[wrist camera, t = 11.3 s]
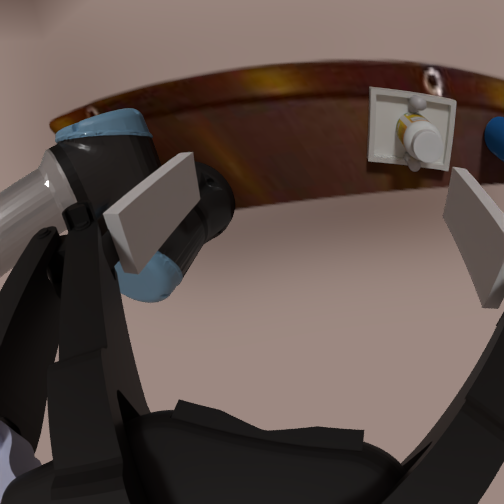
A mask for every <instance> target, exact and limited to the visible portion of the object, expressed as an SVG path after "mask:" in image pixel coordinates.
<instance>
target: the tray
mask: <svg viewBox="0 0 504 504" xmlns="http://www.w3.org/2000/svg"><path fill="white" fill-rule="evenodd" d="M407 112H416V113H419V114H421V115H422V116H424V117H425V118H426V119H427V120H429V121H430V122H431V123H432V124H434V125H435V126H436V127H437V129H438V130H439V132H440V134H441V137H442V142H443V153H442V155H441V157H440V158H439V159H438V160H437V161H435V162H433V163H425V162H423V161H421V160H417V159H415V158H413V157H412V156H411V155H410V154H409V153H408V152H407V151H406V149H405V147H404V146H403V144H402V143H401V141H400V140H399V138H398V136H397V133H396V124H397V121H398V119H399V118H400V116H402V115H403V114H405V113H407ZM455 113H456V101H455V100H452V99H449V98H444V97H439V96H433V95H427V94H422V93H415V92H409V91H402V90H394V89H386V88H376V87H369V123H368V147H367V159H368V161H371V162H381V163H391V164H400V165H408V166H409V168H410V170H411V171H414V172H416V171H418V170H419V169H420V168H421V167H424V168H431V169H438V170H444V171H448V169H449V163H450V156H451V149H452V141H453V133H454V124H455Z"/></svg>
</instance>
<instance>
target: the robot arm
mask: <svg viewBox="0 0 504 504" xmlns="http://www.w3.org/2000/svg"><path fill="white" fill-rule="evenodd" d="M152 138H153V136H152V134H151V133H149V130H148V128H147V125H146V123H145V121H144V118H143V116H142V114H141V113H140V112H139V111H138V110H136V109H132V108H126V109H120V110H115V111H111V112H107V113H104V114H100V115H97V116H94V117H91V118H88V119H85V120H82V121H80V122H79V123H75V124H73V125H70V126H67V127H65V128H63V129H61V130H60V131H58V132H57V133H56V139H55V141H56V143H57V145H55V146H53V147H51V148H49V149H48V150H46V151H45V153H44V157H43V159H42V162H41V164H40V166H39V167H38V169H36V170H35V171H33V172H31V173H30V174H28V175H26V176H25V177H24V178H22V179H20V180H19V181H17V182H15V183H14V184H12V185H11V186H9V187H8V188H7V189H5V190H4V191H2V192H1V193H0V277H1V276H3V275H4V274H5V273H6V272H8V271H9V270H10V269H12V268H13V267H14V268H13V269H12V271H11V273H10V275H9V276H8V278H7V280H6V282H5V283H4V285H3V287H2V289H1V291H0V504H478V502H479V501H480V499H481V498H482V496H483V495H484V493H485V492H486V490H487V489H488V487H489V485H490V484H491V482H492V481H493V479H494V477H495V476H496V474H497V472H498V471H499V469H500V467H501V465H502V464H503V462H504V312H503V314H502V316H501V318H500V319H499V321H498V323H497V325H496V326H497V327H496V329H495V331H494V333H493V335H492V337H491V339H490V341H489V343H488V344H487V346H486V348H485V350H484V352H483V353H482V355H481V357H480V359H479V360H478V362H477V364H476V366H475V367H474V369H473V371H472V372H471V374H470V376H469V377H468V379H467V380H466V382H465V383H464V385H463V387H462V388H461V390H460V391H459V392H458V394H457V395H456V397H455V398H454V400H453V401H452V403H451V404H450V405H449V407H448V408H447V410H446V411H445V412H444V414H443V415H442V416H441V418H440V419H439V420H438V422H437V423H436V424H435V426H434V427H433V428H432V429H431V431H430V432H429V433H428V434H427V436H426V437H425V438H424V439H423V440H422V442H421V443H420V444H419V445H418V446H417V447H416V449H415V450H414V451H413V452H412V453H411V454H410V455H409V456H408V457H407V458H406V459H405V460H404V461H403V462H402V463H401V464H400V463H399V462H398V461H397V460H396V459H395V458H394V457H393V456H391V455H390V454H389V453H387V452H385V451H384V450H382V449H380V448H378V447H376V446H374V445H371V444H369V443H366V442H363V437H364V430H352V429H339V428H327V427H308V428H298V429H286V430H273V431H267V430H262V429H259V428H257V427H255V426H253V425H250V424H248V423H246V422H244V421H242V420H240V419H238V418H236V417H233V416H231V415H229V414H227V413H225V412H223V411H221V410H218V409H214V408H209V407H206V406H201V405H198V404H194V403H190V402H186V401H183V400H178V403H177V405H176V407H175V409H174V410H166V411H157V412H152V413H151V412H150V410H149V408H148V406H147V403H146V400H145V397H144V393H143V390H142V386H141V383H140V379H139V375H138V371H137V368H136V364H135V360H134V356H133V352H132V347H131V343H130V339H129V334H128V329H127V324H126V320H125V315H124V309H123V305H122V299H121V293H122V294H124V295H126V296H127V297H129V298H132V299H134V300H137V301H142V302H148V303H149V302H159V301H162V300H164V299H166V298H167V297H168V296H169V295H170V294H171V293H172V292H173V290H174V289H175V288H176V286H178V285H179V284H180V282H181V281H182V279H183V277H184V275H185V274H186V272H187V270H188V269H189V267H190V265H191V264H192V262H193V261H194V259H195V257H196V256H197V254H198V252H199V251H200V249H201V248H202V246H203V244H205V243H206V242H208V241H209V240H211V239H213V238H215V237H217V236H218V235H220V234H221V233H222V232H223V231H224V230H225V229H226V227H227V226H228V224H229V223H230V221H231V219H232V217H233V214H234V210H235V201H234V196H233V192H232V190H231V188H230V186H229V184H228V182H227V181H226V180H225V178H224V177H223V176H222V175H221V174H220V173H219V172H217V171H216V170H215V169H213V168H212V167H210V166H208V165H206V164H203V163H199V162H194V157H193V152H188V153H179V154H178V155H176V156H175V157H174V158H172V159H171V160H169V161H168V162H167V163H165V164H164V165H163V166H162V165H161V162H160V160H159V157H158V154H157V151H156V148H155V146H154V143H153V140H152ZM443 218H444V219H445V222H446V224H447V226H448V228H449V230H450V232H451V234H452V236H453V238H454V240H455V242H456V244H457V246H458V248H459V251H460V253H461V255H462V257H463V260H464V262H465V264H466V267H467V269H468V271H469V274H470V275H471V279H472V281H473V284H474V286H475V289H476V291H477V294H478V296H479V299H480V302H481V305H482V308H496V309H498V308H499V306H500V304H501V302H502V300H503V298H504V213H503V212H502V211H501V209H500V208H499V207H498V206H497V204H496V203H495V202H494V201H493V200H492V198H491V197H490V196H489V195H488V194H487V192H486V191H485V190H484V189H483V188H482V187H481V185H480V184H479V183H478V182H477V181H476V180H475V179H474V177H473V176H472V175H471V174H470V173H469V172H468V171H467V170H466V169H463V168H457V167H453V168H452V174H451V179H450V185H449V190H448V195H447V200H446V204H445V209H444V213H443ZM66 229H67V230H68V234H67V235H62V236H60V235H59V234H60V233H62V232H63V231H65V230H66ZM48 277H49V278H48ZM49 279H50V280H49ZM58 345H59V361H58V362H55V363H54V361H55V357H56V353H57V349H58ZM46 400H47V401H48V417H49V430H50V440H51V447H52V456H53V460H52V461H50V462H48V463H46V464H43V465H41V463H40V461H39V460H38V459H37V458H35V457H34V453H35V451H36V448H37V445H38V441H39V438H40V434H41V429H42V424H43V419H44V412H45V406H46Z"/></svg>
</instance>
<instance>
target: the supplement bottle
mask: <svg viewBox="0 0 504 504" xmlns="http://www.w3.org/2000/svg"><path fill="white" fill-rule="evenodd" d="M396 133H397V136H398V138H399V140H400V141H401V143H402V144H403V146H404V147H405V149H406V151H407V152H408V153H409V154H410V155H411V156H412V157H413V158H415V159H417V160H421V161H423V162H425V163H433V162H435V161H437V160H438V159H439V158H440V157H441V155H442V153H443V142H442V137H441V134H440V132H439V130H438V129H437V127H436V126H435V125H434V124H432V123H431V122H430V121H429V120H427V119H426V118H425V117H424V116H422V115H421V114H419V113H416V112H407V113H405V114H403V115H402V116H400V118H399V119H398V121H397V124H396Z"/></svg>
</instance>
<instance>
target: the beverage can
mask: <svg viewBox="0 0 504 504" xmlns="http://www.w3.org/2000/svg"><path fill="white" fill-rule="evenodd" d="M485 142H486V145H487V147H488V149H489V150H490V151H491V152H492V153H493V154H495V155H496V156H497V157H498V158H499V159H501V160H502V161H503V162H504V117H495V118H493V119H492V120H490V121H489V123H488V124H487V126H486V129H485Z"/></svg>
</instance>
